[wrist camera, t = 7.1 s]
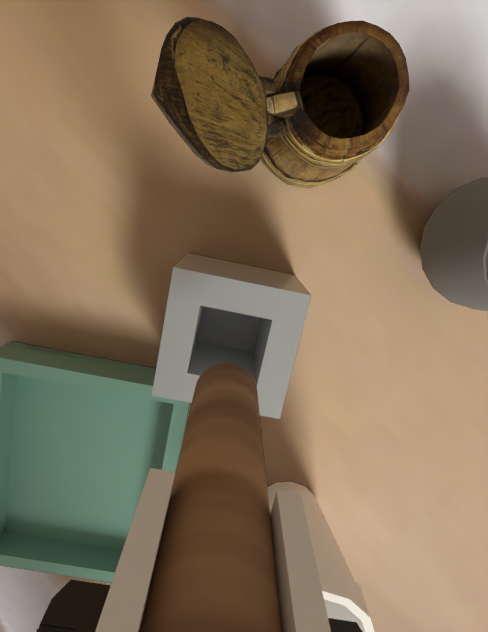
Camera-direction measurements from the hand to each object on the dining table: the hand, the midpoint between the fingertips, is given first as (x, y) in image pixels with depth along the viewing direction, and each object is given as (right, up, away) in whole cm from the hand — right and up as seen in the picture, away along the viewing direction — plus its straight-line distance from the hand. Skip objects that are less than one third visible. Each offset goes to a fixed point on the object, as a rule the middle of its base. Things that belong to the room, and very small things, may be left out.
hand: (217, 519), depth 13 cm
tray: (-13, -7, +26) cm, 30 cm away
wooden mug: (+4, +20, +19) cm, 28 cm away
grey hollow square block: (0, +6, +23) cm, 24 cm away
